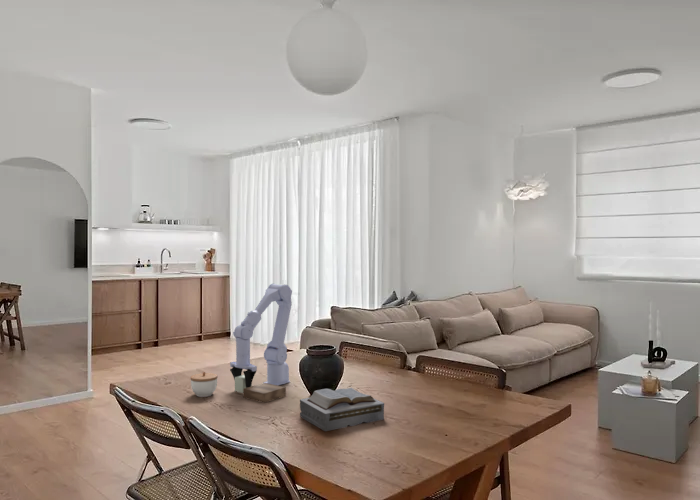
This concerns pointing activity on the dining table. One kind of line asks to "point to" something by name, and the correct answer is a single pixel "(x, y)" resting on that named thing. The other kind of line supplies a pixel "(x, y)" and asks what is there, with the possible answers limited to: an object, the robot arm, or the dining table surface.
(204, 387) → the lidded jar
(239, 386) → the sage block
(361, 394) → the bible
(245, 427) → the dining table surface
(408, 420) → the dining table surface
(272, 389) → the walnut box
